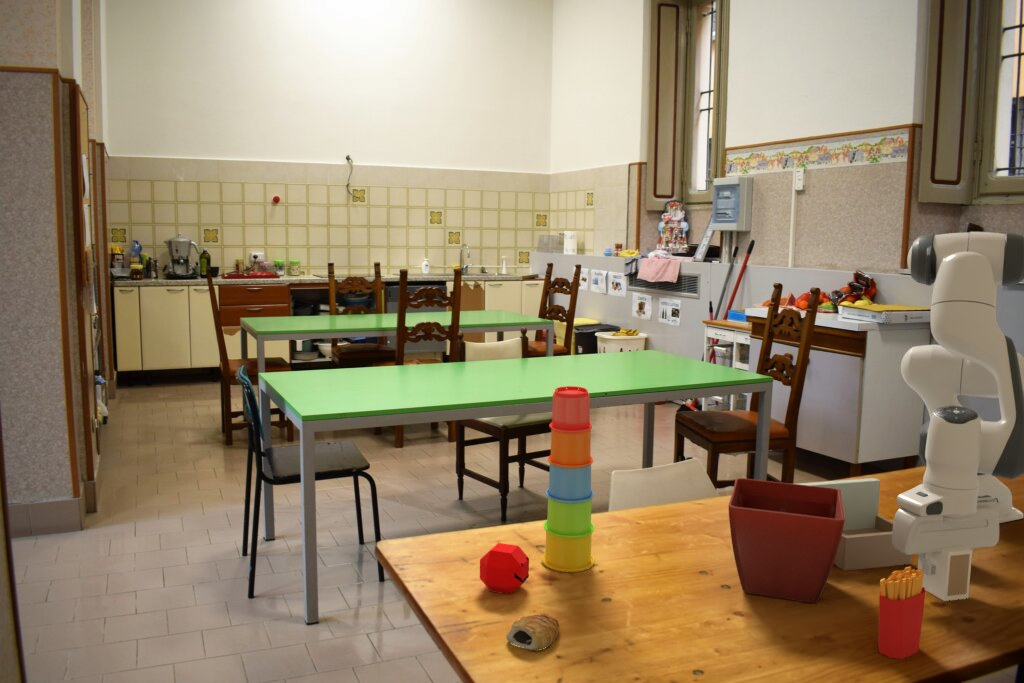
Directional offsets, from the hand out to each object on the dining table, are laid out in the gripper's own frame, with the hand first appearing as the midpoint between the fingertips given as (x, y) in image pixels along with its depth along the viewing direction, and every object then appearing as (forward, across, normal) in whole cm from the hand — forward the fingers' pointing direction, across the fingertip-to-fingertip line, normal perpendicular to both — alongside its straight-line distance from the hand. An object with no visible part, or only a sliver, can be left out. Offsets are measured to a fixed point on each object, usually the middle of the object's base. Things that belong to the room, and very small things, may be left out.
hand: (943, 572), depth 152 cm
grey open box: (+4, +7, -18) cm, 20 cm away
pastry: (+4, +77, 0) cm, 77 cm away
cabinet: (+4, 0, 0) cm, 4 cm away
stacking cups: (+4, +62, -28) cm, 68 cm away
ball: (+4, +77, -19) cm, 79 cm away
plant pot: (+4, +27, -9) cm, 29 cm away
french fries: (+4, +23, +17) cm, 29 cm away
